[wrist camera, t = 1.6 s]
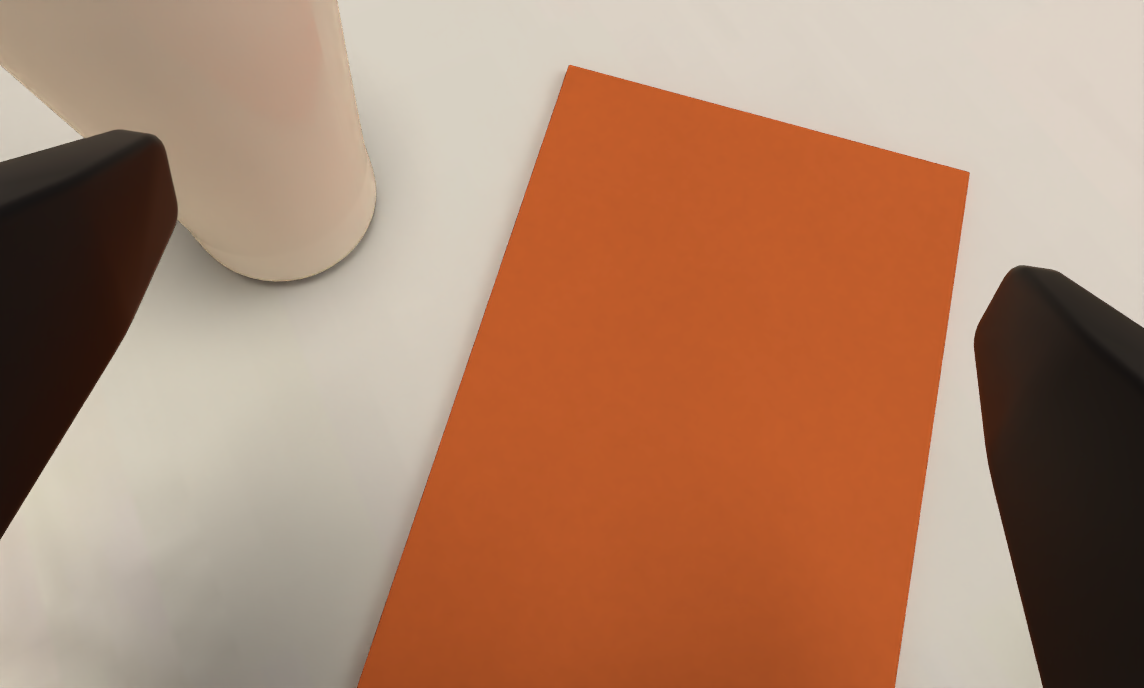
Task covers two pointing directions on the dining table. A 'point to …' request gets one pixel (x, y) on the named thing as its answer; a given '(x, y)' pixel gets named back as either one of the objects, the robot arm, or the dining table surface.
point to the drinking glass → (217, 114)
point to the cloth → (686, 413)
